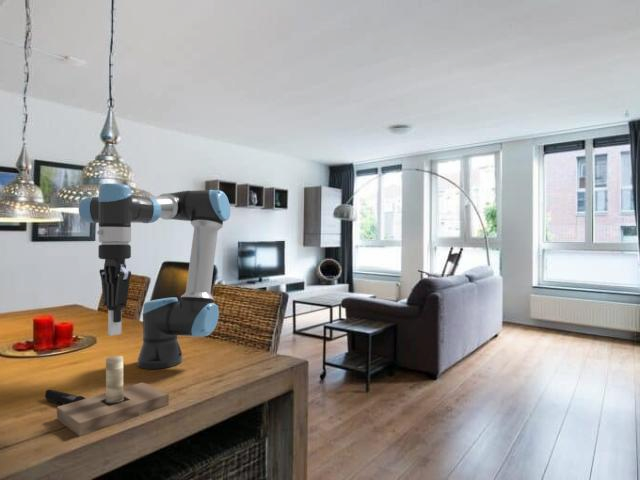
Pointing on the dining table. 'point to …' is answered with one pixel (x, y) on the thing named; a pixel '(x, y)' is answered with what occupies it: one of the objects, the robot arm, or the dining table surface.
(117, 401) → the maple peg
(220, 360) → the dining table surface
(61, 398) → the electric trimmer
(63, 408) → the walnut board
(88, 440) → the dining table surface
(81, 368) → the dining table surface
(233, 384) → the dining table surface
